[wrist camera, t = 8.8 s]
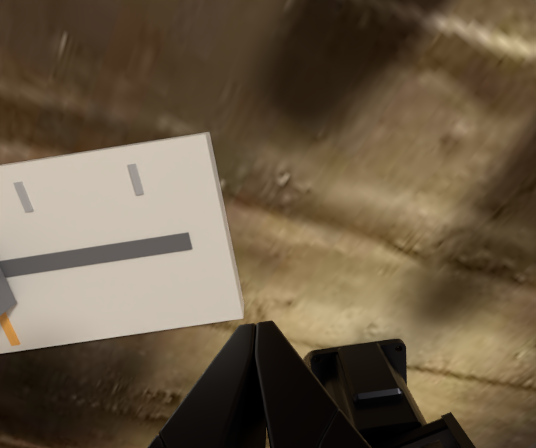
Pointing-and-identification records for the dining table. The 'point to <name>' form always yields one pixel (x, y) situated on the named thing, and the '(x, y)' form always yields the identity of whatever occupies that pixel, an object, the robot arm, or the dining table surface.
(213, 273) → the console
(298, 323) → the dining table surface
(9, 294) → the fader
